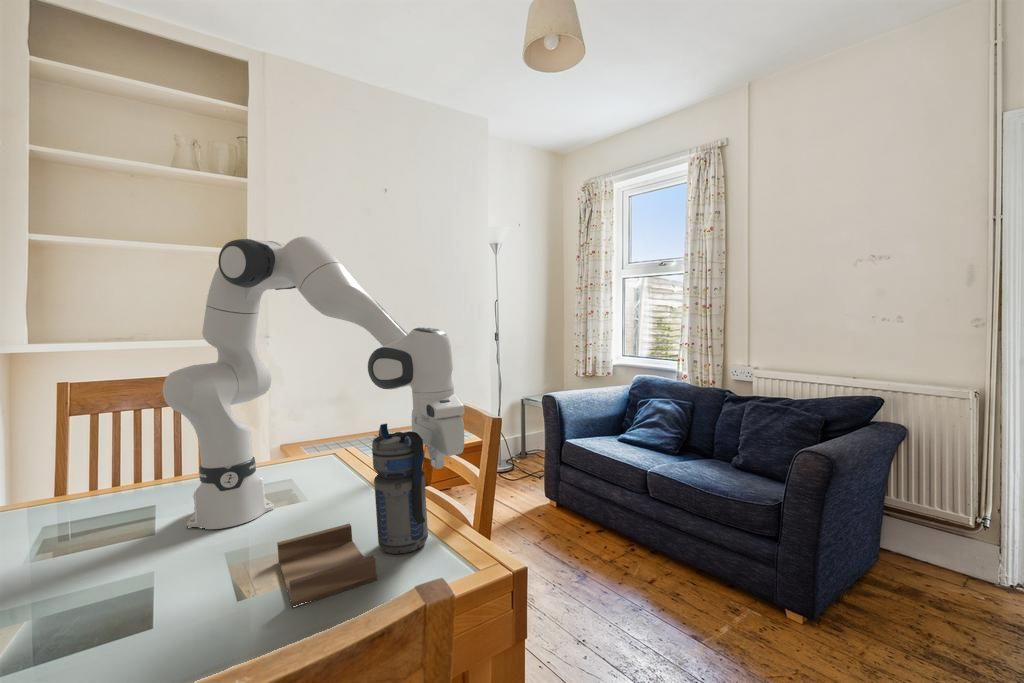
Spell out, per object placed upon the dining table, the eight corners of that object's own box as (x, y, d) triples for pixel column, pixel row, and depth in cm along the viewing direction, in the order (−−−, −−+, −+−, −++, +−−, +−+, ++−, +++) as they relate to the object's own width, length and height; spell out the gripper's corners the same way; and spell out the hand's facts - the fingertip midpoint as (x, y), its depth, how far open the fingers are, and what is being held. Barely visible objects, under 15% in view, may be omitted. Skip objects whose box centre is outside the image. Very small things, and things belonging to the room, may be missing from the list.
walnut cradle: (278, 562, 95) (277, 542, 95) (350, 541, 102) (349, 523, 102) (292, 608, 79) (290, 584, 79) (376, 580, 86) (375, 558, 86)
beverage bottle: (405, 565, 91) (397, 436, 90) (367, 546, 100) (359, 428, 99) (446, 544, 99) (439, 425, 97) (406, 529, 107) (399, 418, 106)
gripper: (403, 399, 109) (406, 459, 110) (439, 411, 92) (443, 482, 93) (428, 396, 113) (432, 453, 113) (468, 407, 95) (472, 475, 96)
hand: (437, 467), depth 103 cm, fingers closed
